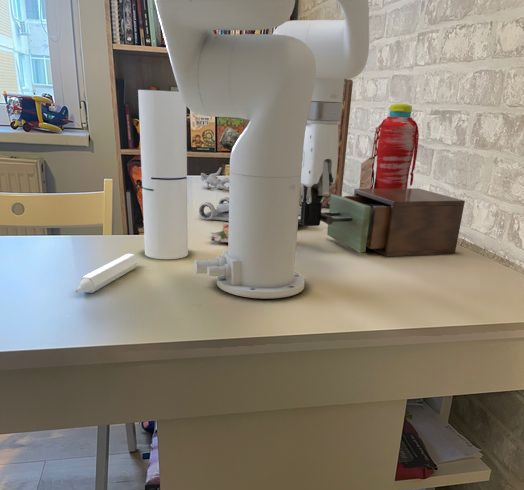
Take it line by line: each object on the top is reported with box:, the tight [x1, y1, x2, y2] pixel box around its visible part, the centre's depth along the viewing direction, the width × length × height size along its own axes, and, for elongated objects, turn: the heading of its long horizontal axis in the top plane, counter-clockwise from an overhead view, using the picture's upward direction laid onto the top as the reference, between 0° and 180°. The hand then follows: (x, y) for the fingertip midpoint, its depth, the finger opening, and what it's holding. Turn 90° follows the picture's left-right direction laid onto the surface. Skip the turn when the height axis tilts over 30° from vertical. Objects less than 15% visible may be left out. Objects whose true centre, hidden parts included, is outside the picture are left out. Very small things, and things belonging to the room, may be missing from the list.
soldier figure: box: [200, 167, 230, 191], centre depth 164 cm, size 8×5×12 cm
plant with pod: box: [210, 126, 241, 243], centre depth 101 cm, size 8×11×20 cm
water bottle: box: [358, 102, 420, 189], centre depth 119 cm, size 12×8×25 cm, turn 66°
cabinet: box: [353, 187, 466, 258], centre depth 106 cm, size 15×15×10 cm
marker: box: [75, 253, 140, 294], centre depth 78 cm, size 3×2×16 cm
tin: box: [364, 204, 386, 239], centre depth 104 cm, size 6×6×6 cm
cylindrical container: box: [137, 89, 189, 260], centre depth 89 cm, size 7×7×25 cm
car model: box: [198, 196, 301, 225], centre depth 121 cm, size 11×24×5 cm, turn 65°
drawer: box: [320, 194, 391, 253], centre depth 103 cm, size 19×13×8 cm
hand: (309, 224), depth 100 cm, fingers closed
